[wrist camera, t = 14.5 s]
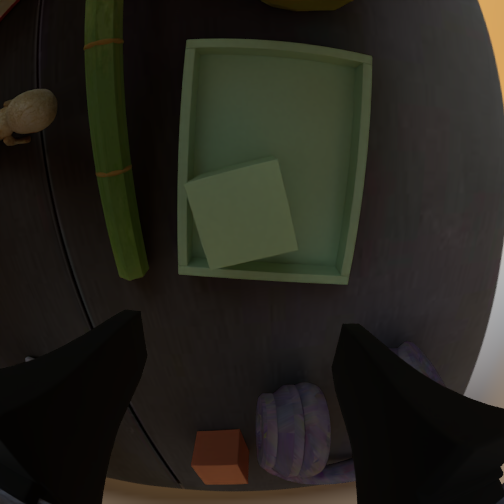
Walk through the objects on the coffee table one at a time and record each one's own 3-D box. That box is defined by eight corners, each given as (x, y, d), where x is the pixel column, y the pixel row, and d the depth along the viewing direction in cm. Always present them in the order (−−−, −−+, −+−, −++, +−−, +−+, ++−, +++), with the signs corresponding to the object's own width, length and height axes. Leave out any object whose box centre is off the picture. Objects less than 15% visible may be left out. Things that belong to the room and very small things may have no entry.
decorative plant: (78, 279, 19) (65, -115, 3) (132, 225, 26) (123, -86, 10) (152, 293, 18) (146, -152, 2) (195, 230, 25) (192, -106, 9)
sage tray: (340, 271, 21) (347, 285, 19) (185, 262, 21) (178, 274, 19) (361, 63, 16) (372, 55, 14) (193, 49, 16) (186, 39, 14)
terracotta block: (249, 450, 28) (248, 483, 24) (209, 452, 28) (205, 484, 24) (239, 428, 27) (237, 464, 22) (197, 431, 27) (190, 465, 23)
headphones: (217, 380, 23) (291, 458, 32) (214, 471, 16) (298, 513, 25) (432, 301, 21) (426, 410, 30) (485, 377, 13) (448, 462, 22)
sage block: (289, 225, 19) (299, 250, 15) (220, 242, 19) (210, 270, 15) (273, 155, 18) (277, 158, 13) (200, 174, 18) (183, 183, 14)
